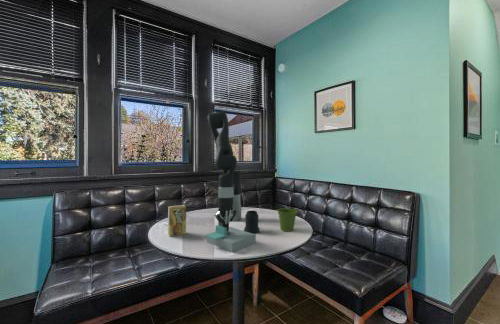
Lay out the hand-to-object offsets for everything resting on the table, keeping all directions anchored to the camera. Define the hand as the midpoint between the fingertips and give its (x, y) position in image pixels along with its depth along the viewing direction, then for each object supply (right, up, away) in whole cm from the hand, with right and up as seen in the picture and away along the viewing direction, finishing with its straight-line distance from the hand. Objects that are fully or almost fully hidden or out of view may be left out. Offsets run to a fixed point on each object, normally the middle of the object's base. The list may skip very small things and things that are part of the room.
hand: (225, 231), depth 111 cm
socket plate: (+3, -6, 0) cm, 6 cm away
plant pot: (+34, -6, +21) cm, 40 cm away
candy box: (-28, -6, +12) cm, 30 cm away
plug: (-3, -5, +16) cm, 17 cm away
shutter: (-4, -1, -4) cm, 6 cm away
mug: (+13, -6, +19) cm, 24 cm away
